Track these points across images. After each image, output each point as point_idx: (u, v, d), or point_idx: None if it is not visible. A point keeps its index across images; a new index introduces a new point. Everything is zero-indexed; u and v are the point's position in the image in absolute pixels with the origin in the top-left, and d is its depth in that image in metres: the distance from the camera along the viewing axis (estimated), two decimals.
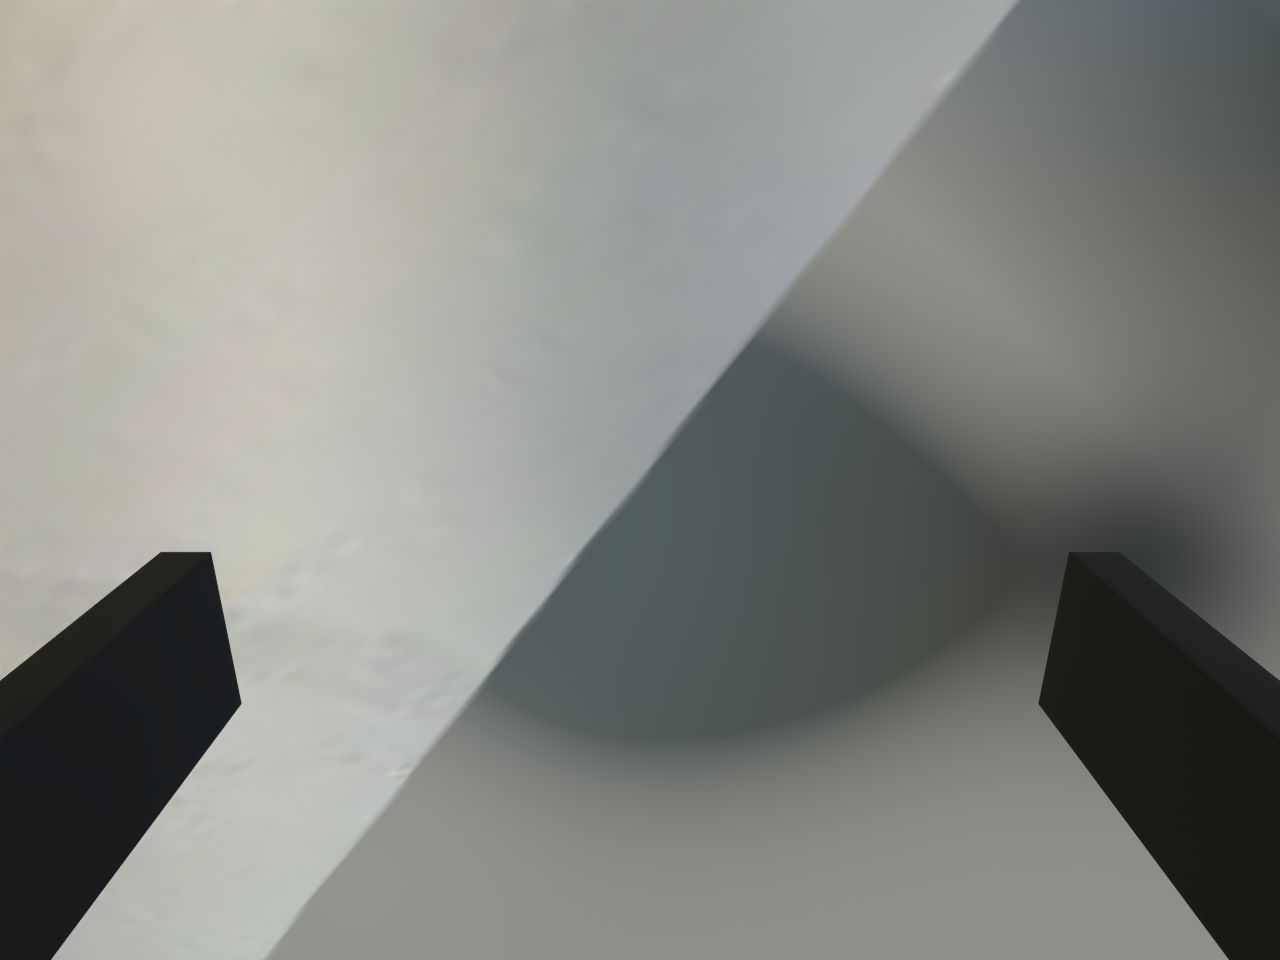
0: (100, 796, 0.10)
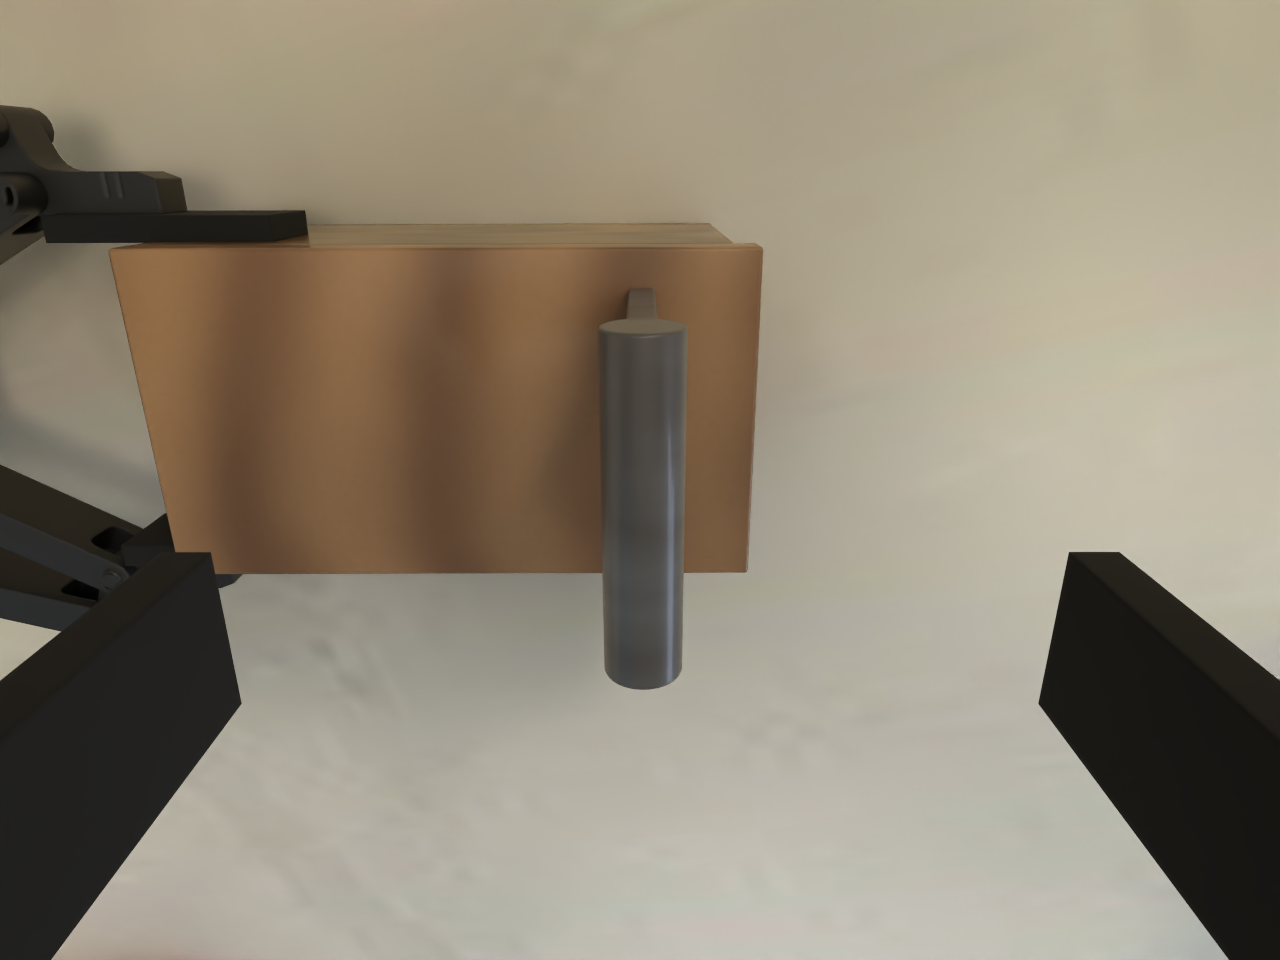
0: (100, 796, 0.10)
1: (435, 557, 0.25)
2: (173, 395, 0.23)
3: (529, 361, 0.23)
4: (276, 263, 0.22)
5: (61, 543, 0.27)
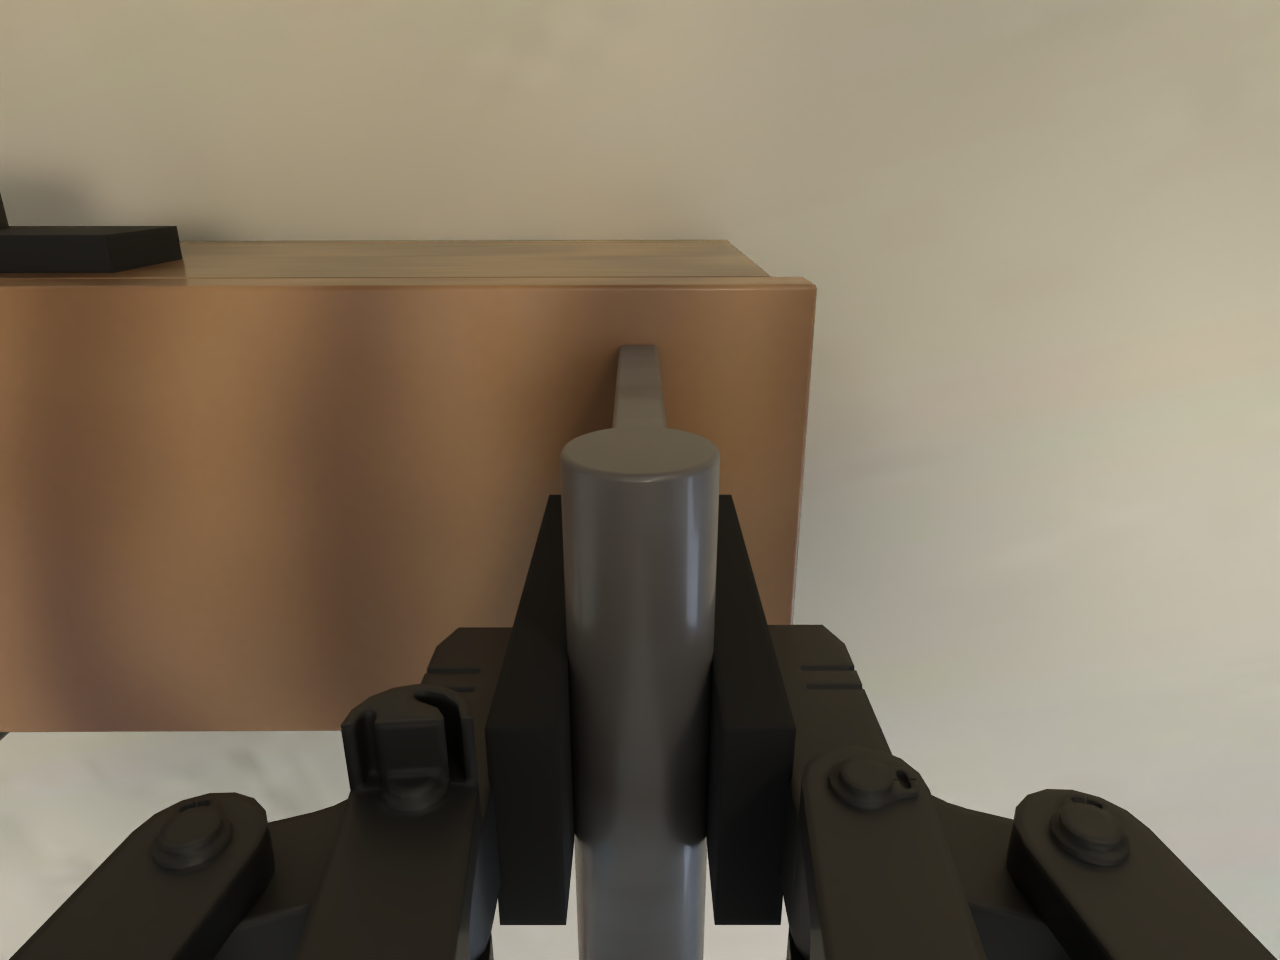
0: None
1: None
2: None
3: (476, 447, 0.16)
4: (100, 309, 0.15)
5: None
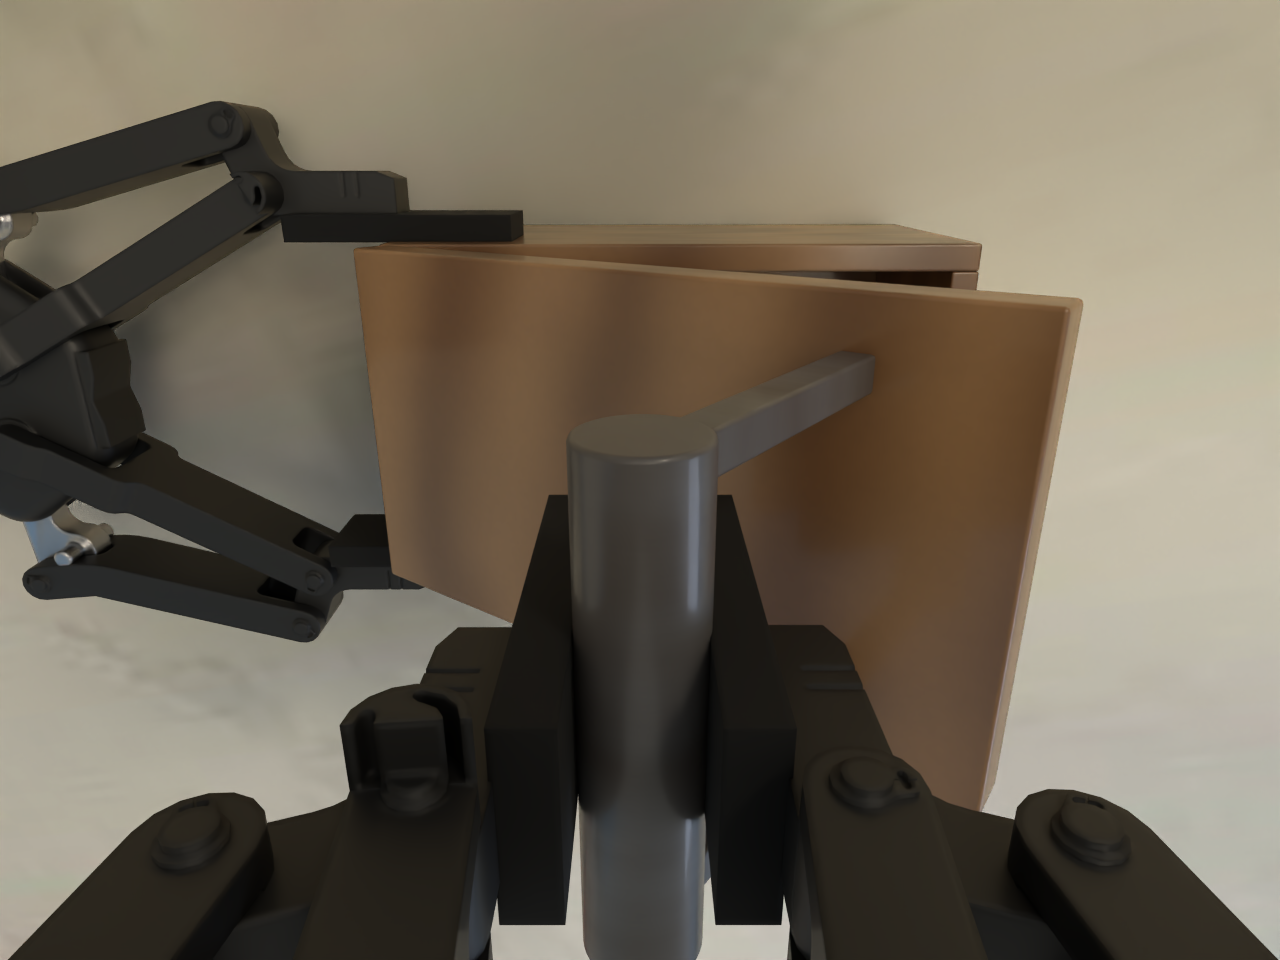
0: None
1: None
2: (391, 399, 0.23)
3: None
4: (469, 275, 0.20)
5: (267, 544, 0.27)
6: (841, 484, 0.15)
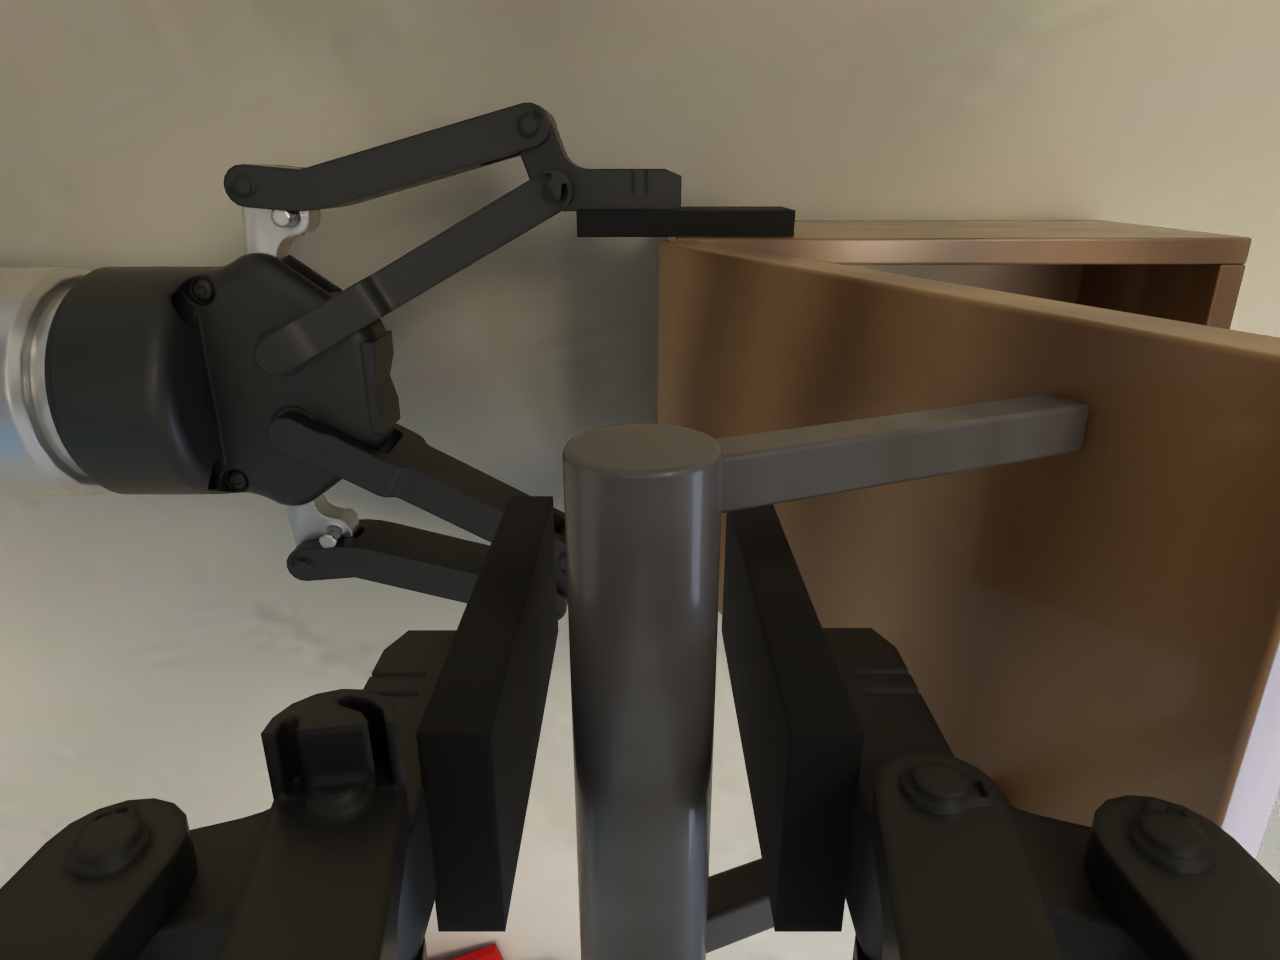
0: (533, 686, 0.12)
1: None
2: (670, 387, 0.24)
3: None
4: (733, 272, 0.20)
5: None
6: (1036, 557, 0.12)
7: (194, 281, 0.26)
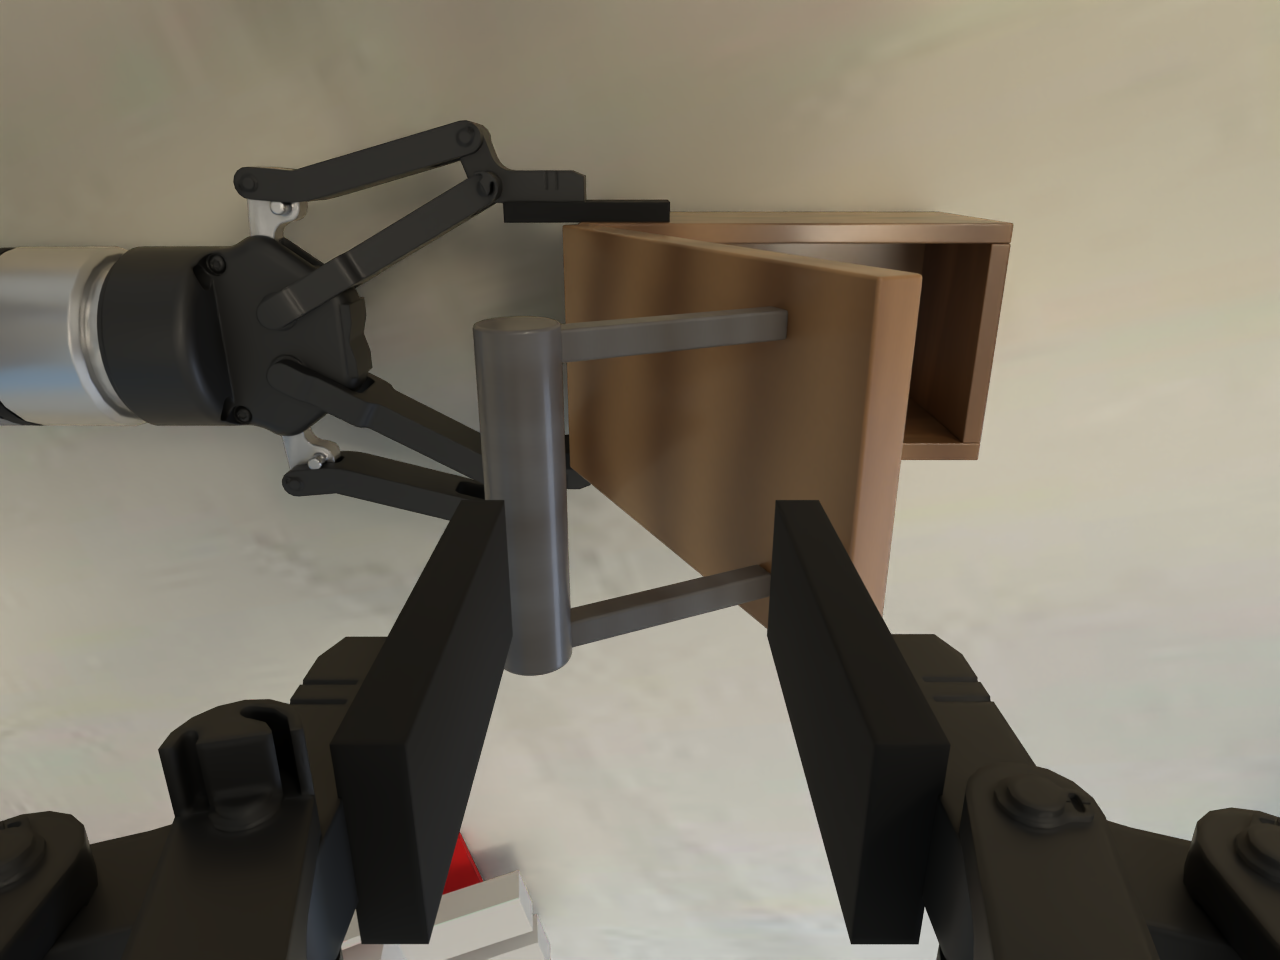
0: (474, 693, 0.12)
1: (656, 523, 0.27)
2: None
3: (710, 364, 0.23)
4: (610, 245, 0.27)
5: (470, 452, 0.36)
6: (772, 409, 0.20)
7: (210, 257, 0.33)
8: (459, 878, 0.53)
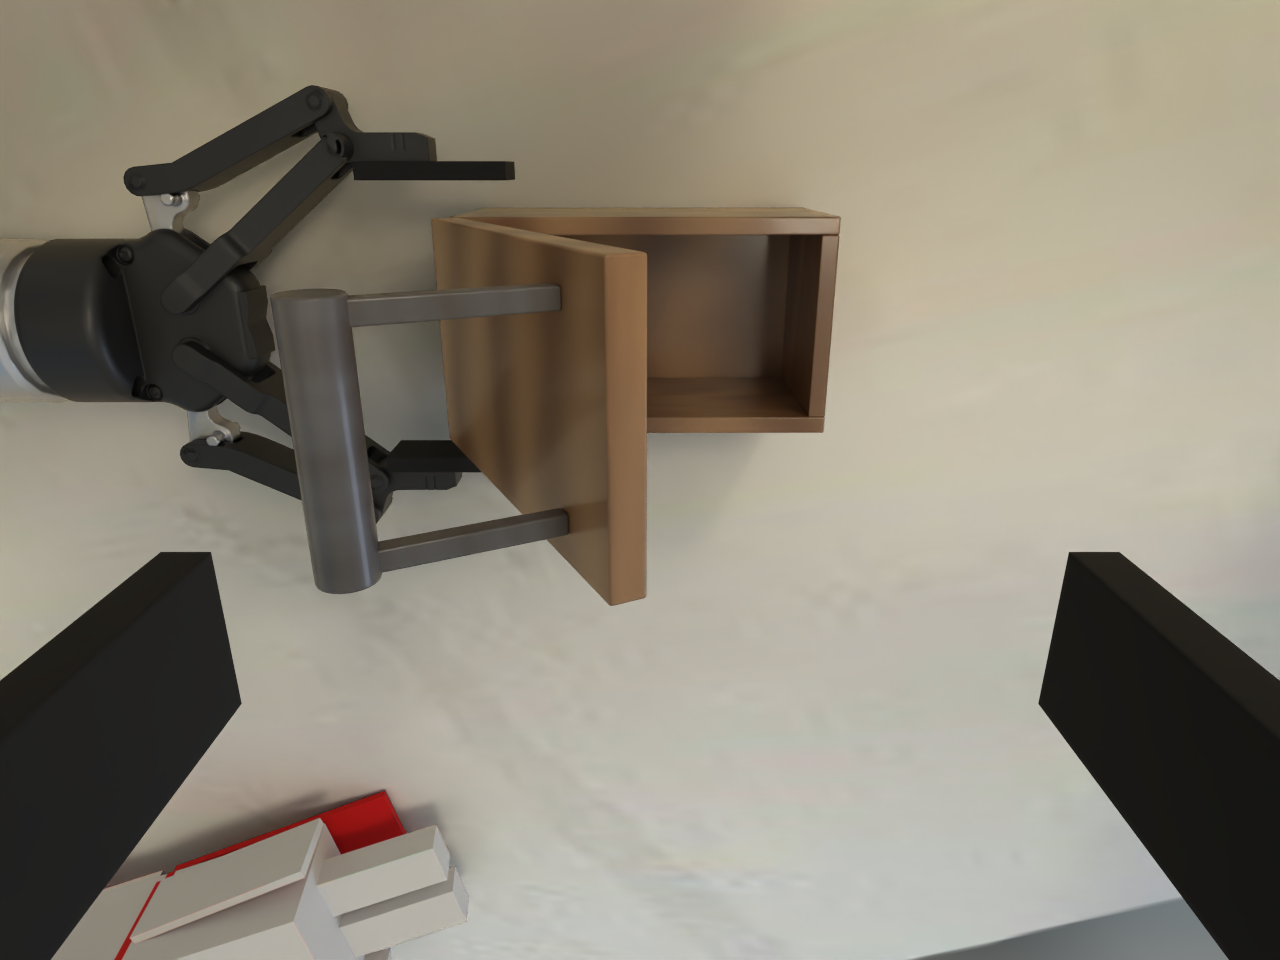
0: (100, 796, 0.10)
1: (502, 481, 0.31)
2: None
3: (522, 336, 0.26)
4: (459, 235, 0.31)
5: None
6: (558, 371, 0.24)
7: (119, 248, 0.37)
8: (384, 834, 0.57)
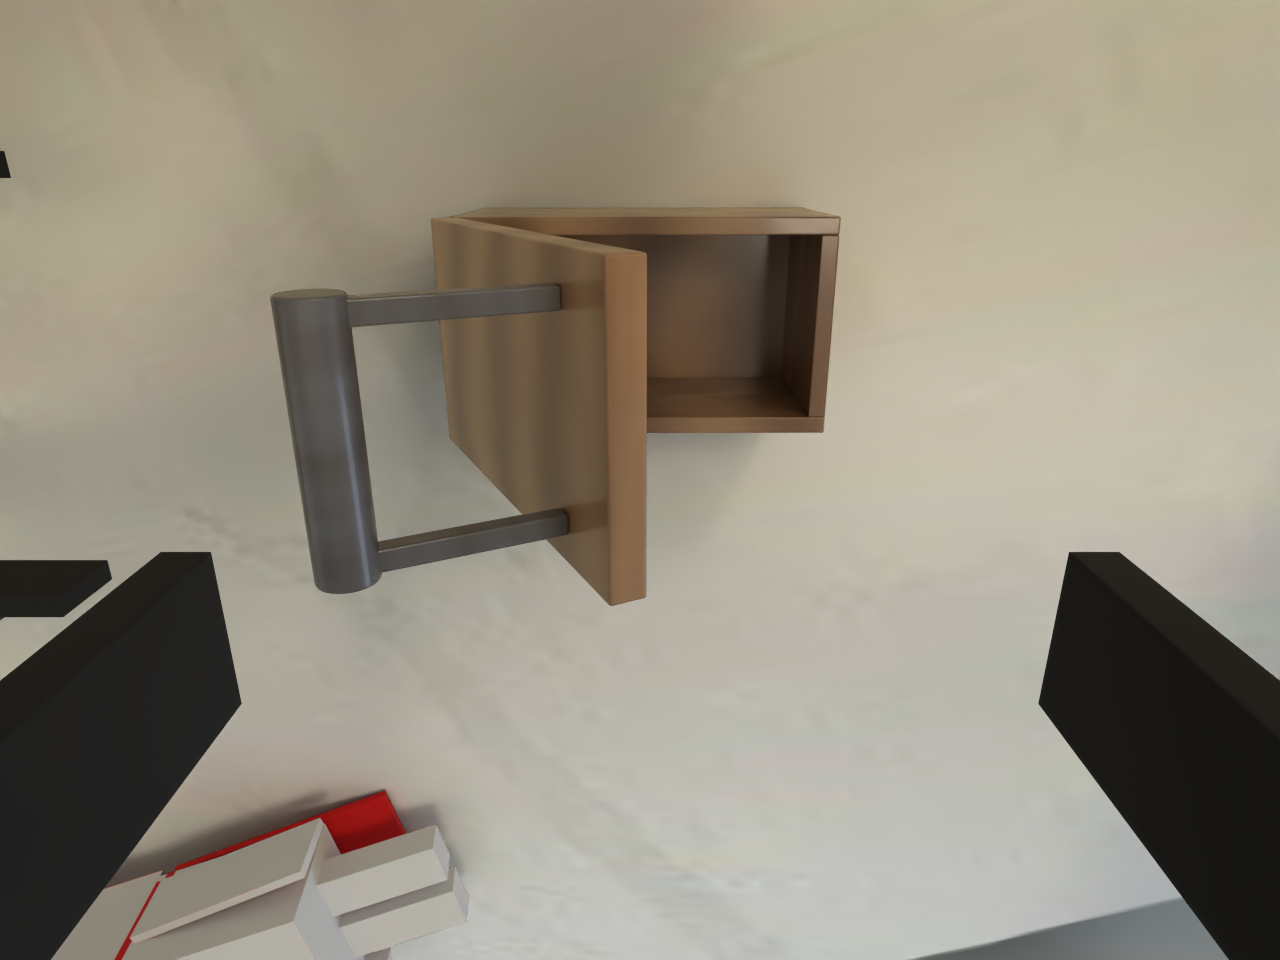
0: (100, 796, 0.10)
1: (502, 481, 0.31)
2: None
3: (522, 336, 0.26)
4: (459, 235, 0.31)
5: None
6: (558, 371, 0.24)
7: None
8: (384, 834, 0.57)
